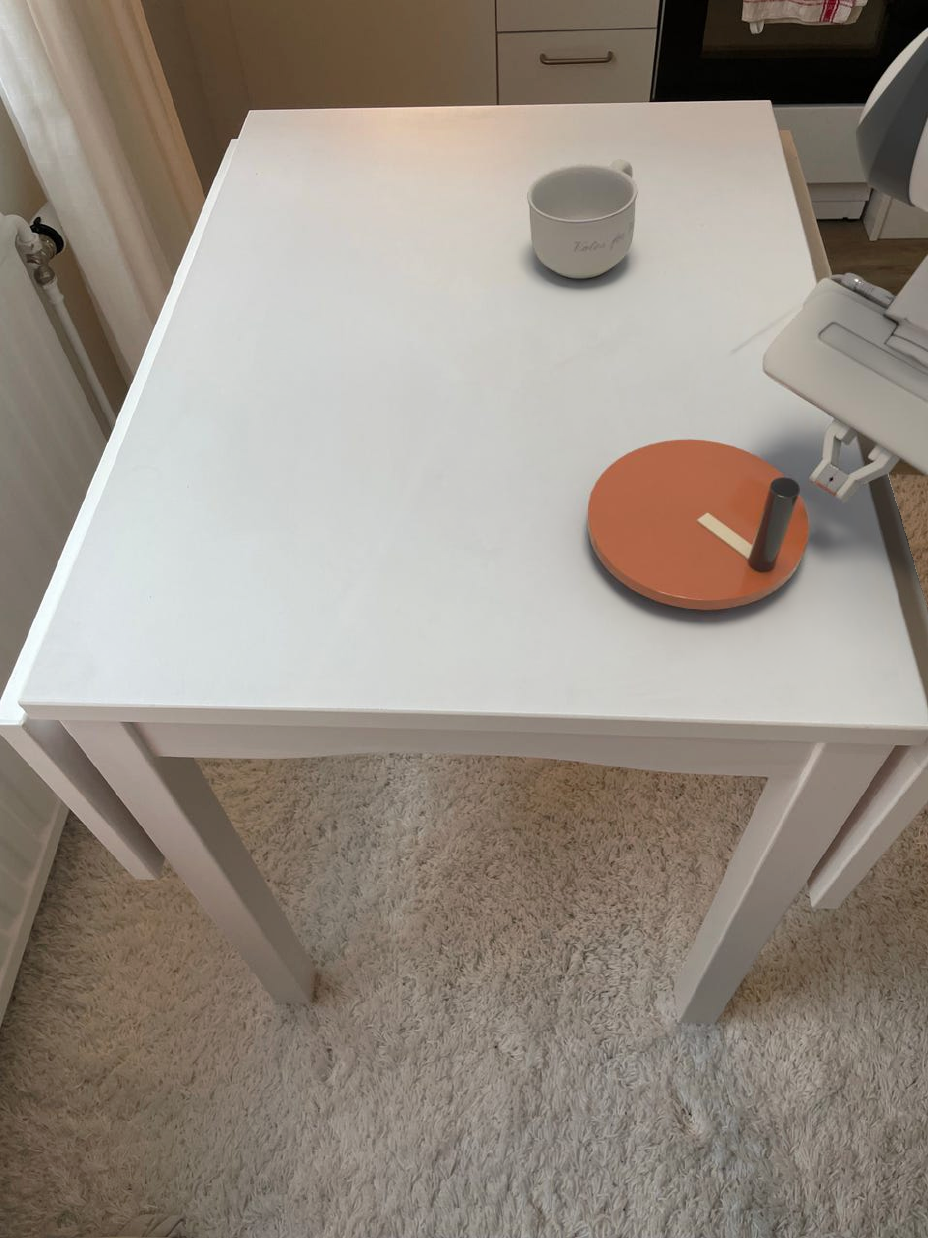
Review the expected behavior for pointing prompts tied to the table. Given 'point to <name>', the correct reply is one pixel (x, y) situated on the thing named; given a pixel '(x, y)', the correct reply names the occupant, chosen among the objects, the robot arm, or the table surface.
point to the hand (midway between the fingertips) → (826, 491)
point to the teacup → (583, 217)
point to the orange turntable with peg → (697, 524)
